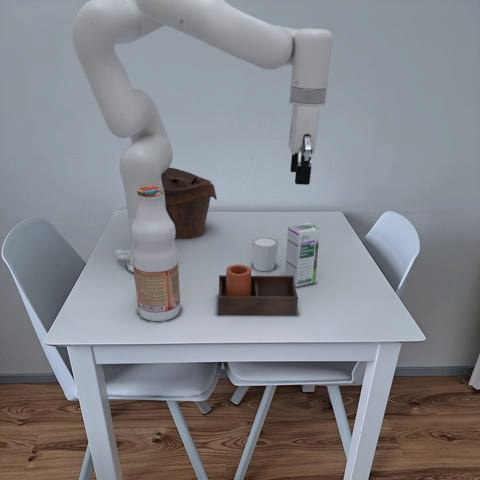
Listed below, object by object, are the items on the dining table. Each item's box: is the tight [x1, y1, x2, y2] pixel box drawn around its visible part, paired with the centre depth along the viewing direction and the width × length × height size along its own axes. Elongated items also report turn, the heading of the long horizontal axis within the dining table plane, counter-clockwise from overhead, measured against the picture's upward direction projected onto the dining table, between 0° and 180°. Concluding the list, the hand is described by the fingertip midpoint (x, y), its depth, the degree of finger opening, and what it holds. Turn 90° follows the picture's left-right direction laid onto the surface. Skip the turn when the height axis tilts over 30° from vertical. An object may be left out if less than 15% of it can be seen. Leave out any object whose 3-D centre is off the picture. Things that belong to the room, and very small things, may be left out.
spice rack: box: [218, 274, 299, 316], centre depth 113 cm, size 17×9×6 cm, turn 91°
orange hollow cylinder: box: [225, 264, 252, 296], centre depth 112 cm, size 6×6×9 cm
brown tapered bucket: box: [161, 167, 218, 239], centre depth 148 cm, size 18×20×18 cm
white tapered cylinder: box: [251, 237, 279, 272], centre depth 130 cm, size 7×7×7 cm
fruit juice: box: [131, 185, 181, 322], centre depth 104 cm, size 9×9×28 cm
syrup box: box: [284, 221, 321, 288], centre depth 122 cm, size 6×6×14 cm
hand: (299, 177), depth 113 cm, fingers open, 9 cm apart
